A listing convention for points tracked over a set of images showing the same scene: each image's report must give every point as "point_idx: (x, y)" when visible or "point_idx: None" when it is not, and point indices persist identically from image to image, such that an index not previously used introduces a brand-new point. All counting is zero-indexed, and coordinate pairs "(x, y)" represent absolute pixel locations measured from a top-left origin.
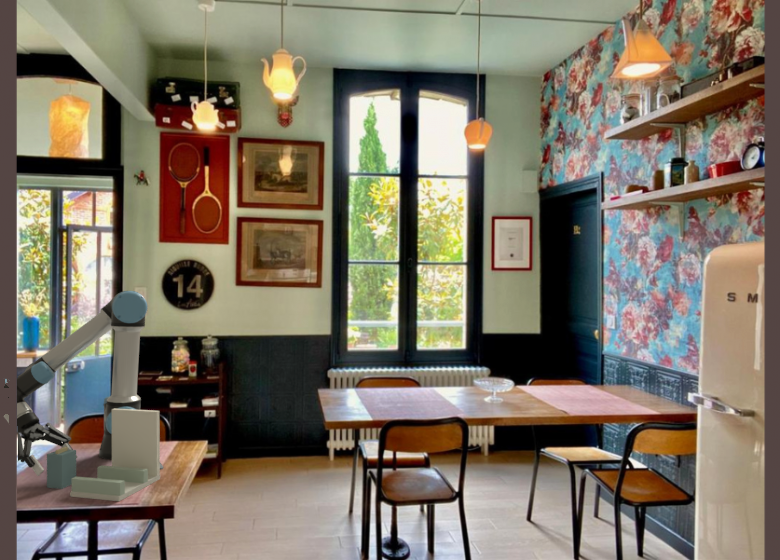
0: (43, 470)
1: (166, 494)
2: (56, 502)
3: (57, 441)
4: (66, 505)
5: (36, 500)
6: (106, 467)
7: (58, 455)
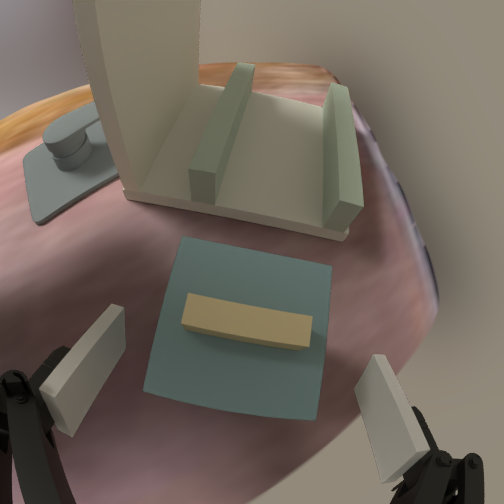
0: (375, 357)
1: (282, 70)
2: (387, 257)
3: (56, 469)
4: (394, 217)
5: (388, 336)
6: (219, 142)
7: (328, 299)
